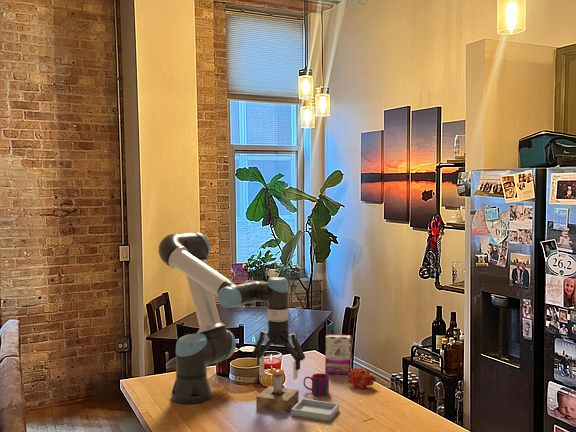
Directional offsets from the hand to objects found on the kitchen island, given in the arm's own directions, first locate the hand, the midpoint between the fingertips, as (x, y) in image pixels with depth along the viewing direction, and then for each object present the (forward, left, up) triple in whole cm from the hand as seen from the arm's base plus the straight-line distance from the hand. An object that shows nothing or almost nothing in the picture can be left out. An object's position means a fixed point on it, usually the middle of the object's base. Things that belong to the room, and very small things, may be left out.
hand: (278, 376), depth 214 cm
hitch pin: (0, 0, -11) cm, 11 cm away
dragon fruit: (+24, +31, -11) cm, 41 cm away
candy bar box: (+10, +45, -11) cm, 47 cm away
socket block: (0, 0, -11) cm, 11 cm away
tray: (+15, -2, -11) cm, 19 cm away
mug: (+9, +18, -11) cm, 23 cm away
